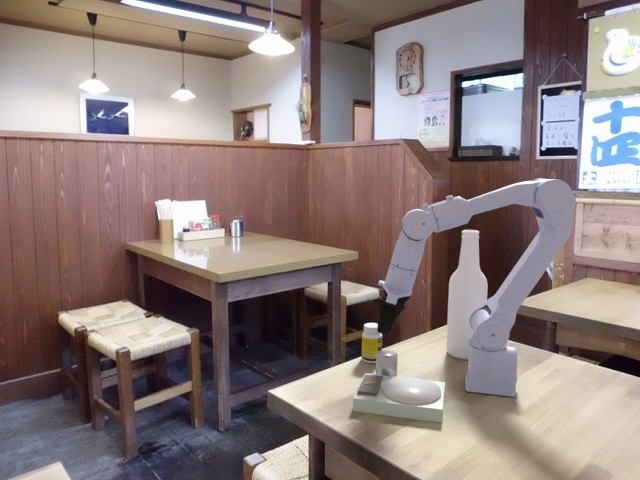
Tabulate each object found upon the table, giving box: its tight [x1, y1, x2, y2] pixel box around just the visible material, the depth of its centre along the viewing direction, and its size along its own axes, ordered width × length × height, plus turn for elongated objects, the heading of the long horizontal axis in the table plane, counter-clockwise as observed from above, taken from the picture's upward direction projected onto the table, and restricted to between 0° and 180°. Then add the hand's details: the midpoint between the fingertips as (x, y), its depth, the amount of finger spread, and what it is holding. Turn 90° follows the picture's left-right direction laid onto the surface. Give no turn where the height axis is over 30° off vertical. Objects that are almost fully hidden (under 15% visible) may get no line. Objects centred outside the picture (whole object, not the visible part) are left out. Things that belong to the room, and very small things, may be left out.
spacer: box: [375, 349, 399, 377], centre depth 107 cm, size 4×4×6 cm
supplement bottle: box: [361, 322, 383, 364], centre depth 119 cm, size 5×5×8 cm
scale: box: [352, 373, 446, 424], centre depth 98 cm, size 16×12×3 cm
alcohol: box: [445, 229, 489, 361], centre depth 121 cm, size 9×9×30 cm
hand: (385, 328), depth 106 cm, fingers open, 7 cm apart
